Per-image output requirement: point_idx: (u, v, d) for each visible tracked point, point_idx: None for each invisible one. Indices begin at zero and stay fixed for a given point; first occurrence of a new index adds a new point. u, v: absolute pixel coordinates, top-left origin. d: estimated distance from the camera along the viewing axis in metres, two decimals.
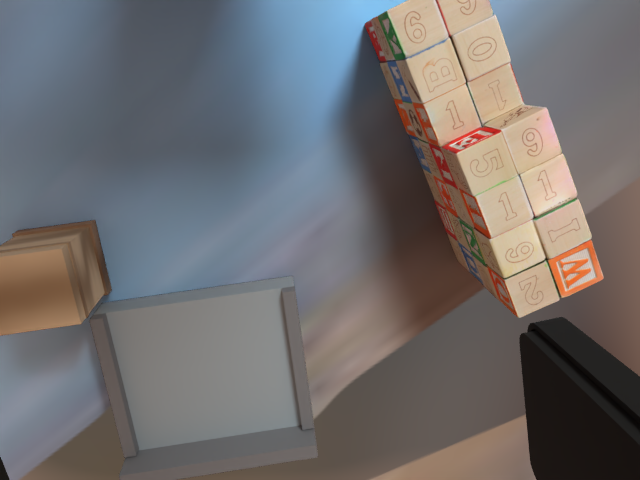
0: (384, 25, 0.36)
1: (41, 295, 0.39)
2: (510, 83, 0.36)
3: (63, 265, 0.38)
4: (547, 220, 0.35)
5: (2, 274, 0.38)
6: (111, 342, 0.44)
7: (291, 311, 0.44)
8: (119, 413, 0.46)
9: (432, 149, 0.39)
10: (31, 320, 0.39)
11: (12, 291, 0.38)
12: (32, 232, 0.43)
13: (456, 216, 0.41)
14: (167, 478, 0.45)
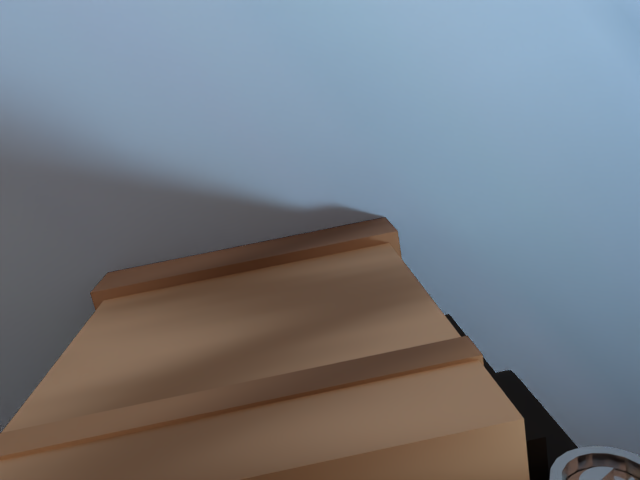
0: None
1: None
2: None
3: None
4: None
5: None
6: None
7: None
8: None
9: None
10: None
11: None
12: None
13: None
14: None
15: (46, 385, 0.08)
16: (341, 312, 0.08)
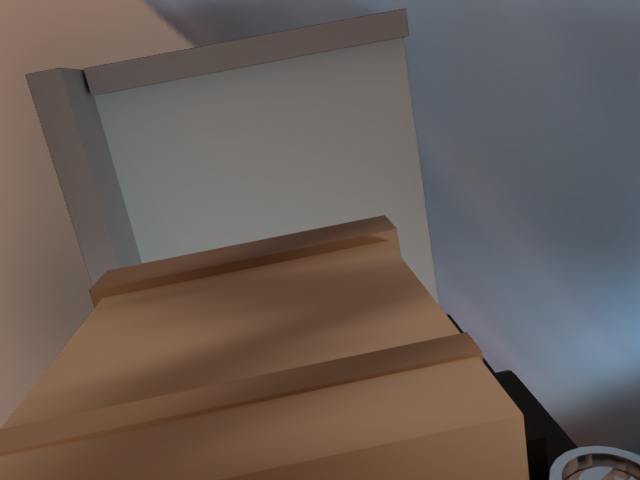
0: None
1: None
2: None
3: None
4: None
5: None
6: (347, 47, 0.23)
7: None
8: (195, 61, 0.22)
9: None
10: None
11: None
12: None
13: None
14: (65, 177, 0.20)
15: (44, 382, 0.08)
16: (339, 309, 0.08)
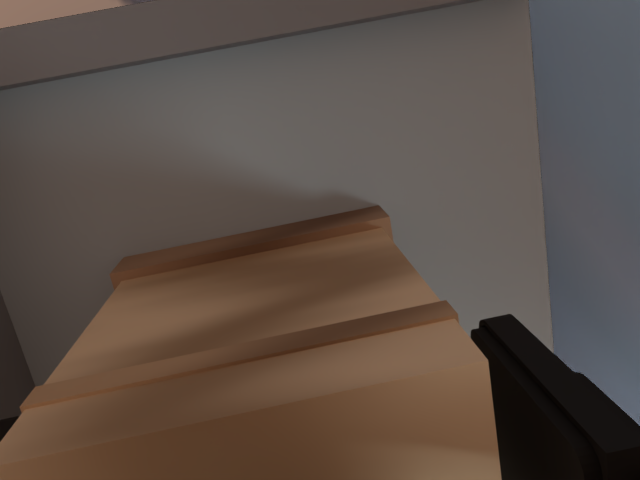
0: None
1: None
2: None
3: None
4: None
5: None
6: (423, 10, 0.12)
7: None
8: (122, 35, 0.11)
9: None
10: None
11: None
12: None
13: None
14: None
15: (77, 349, 0.09)
16: (337, 285, 0.09)
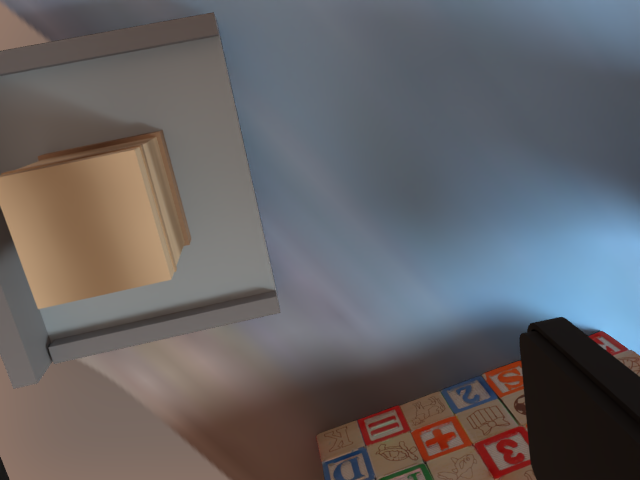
0: None
1: (82, 248, 0.23)
2: None
3: (142, 282, 0.24)
4: None
5: (113, 189, 0.22)
6: (170, 44, 0.28)
7: (248, 311, 0.31)
8: (39, 55, 0.26)
9: (516, 432, 0.32)
10: (31, 232, 0.22)
11: (83, 204, 0.22)
12: (165, 161, 0.28)
13: (422, 457, 0.33)
14: None
15: (21, 168, 0.24)
16: (118, 147, 0.25)
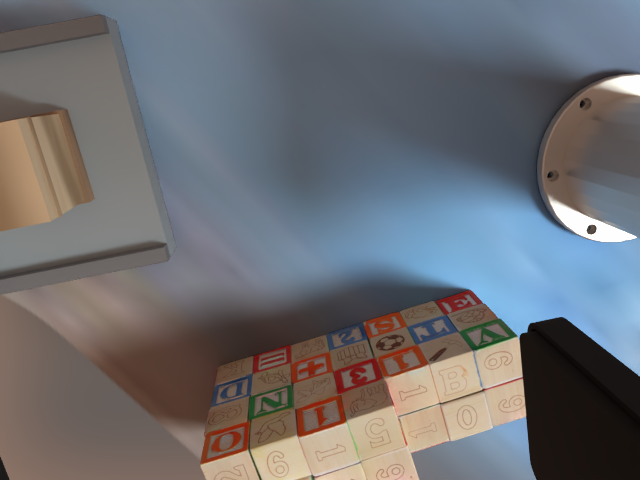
0: (493, 325, 0.38)
1: None
2: (431, 441, 0.38)
3: (28, 222, 0.31)
4: None
5: (2, 149, 0.30)
6: (69, 40, 0.35)
7: (141, 259, 0.38)
8: None
9: (369, 362, 0.39)
10: None
11: None
12: (66, 134, 0.35)
13: (292, 380, 0.39)
14: None
15: None
16: None
